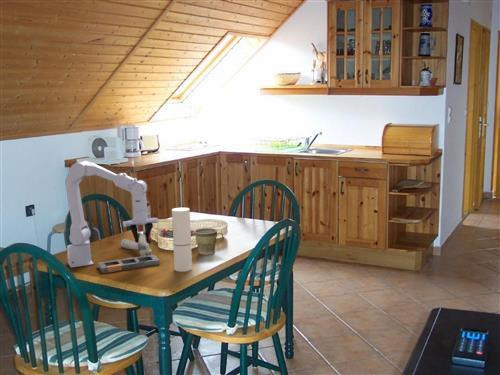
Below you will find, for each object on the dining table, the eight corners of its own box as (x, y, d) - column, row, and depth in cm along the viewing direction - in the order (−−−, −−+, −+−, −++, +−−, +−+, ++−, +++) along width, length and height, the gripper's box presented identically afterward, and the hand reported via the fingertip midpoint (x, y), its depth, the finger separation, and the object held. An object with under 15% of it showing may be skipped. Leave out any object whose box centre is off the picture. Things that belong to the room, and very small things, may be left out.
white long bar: (128, 237, 292) (152, 241, 272) (130, 251, 292) (154, 256, 272) (118, 239, 289) (142, 243, 269) (119, 253, 289) (143, 258, 269)
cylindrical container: (192, 265, 258) (190, 207, 254) (191, 271, 251) (188, 210, 247) (175, 266, 258) (172, 207, 254) (173, 271, 251) (170, 211, 247)
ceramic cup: (192, 254, 274) (191, 232, 273) (200, 248, 284) (199, 227, 282) (219, 256, 270) (219, 234, 269) (227, 250, 280) (226, 228, 278)
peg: (138, 250, 259) (137, 234, 258) (136, 248, 263) (135, 232, 262) (148, 249, 261) (147, 233, 260) (145, 247, 264) (144, 231, 263)
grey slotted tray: (102, 273, 251) (102, 268, 251) (98, 267, 260) (97, 262, 259) (159, 264, 261) (159, 259, 261) (153, 259, 269) (153, 254, 269)
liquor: (143, 239, 303) (139, 182, 298) (155, 240, 300) (152, 183, 295) (133, 242, 297) (130, 185, 292) (146, 244, 294) (143, 186, 289)
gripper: (125, 213, 252) (126, 245, 255) (159, 209, 258) (161, 241, 261) (121, 210, 259) (123, 241, 261) (154, 206, 264) (156, 237, 267)
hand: (141, 241), depth 261 cm, fingers closed on peg, 4 cm apart
